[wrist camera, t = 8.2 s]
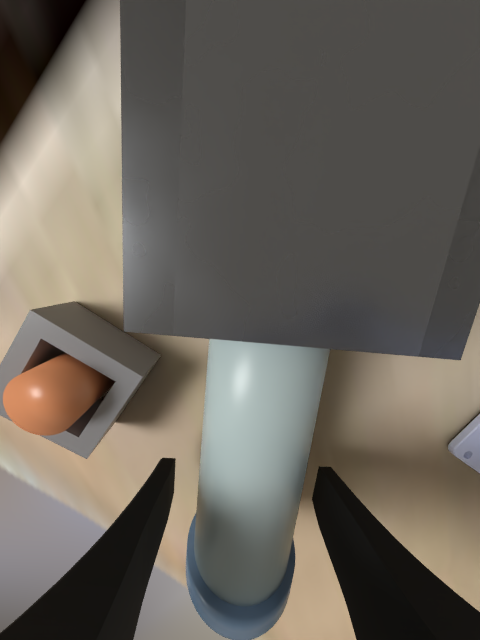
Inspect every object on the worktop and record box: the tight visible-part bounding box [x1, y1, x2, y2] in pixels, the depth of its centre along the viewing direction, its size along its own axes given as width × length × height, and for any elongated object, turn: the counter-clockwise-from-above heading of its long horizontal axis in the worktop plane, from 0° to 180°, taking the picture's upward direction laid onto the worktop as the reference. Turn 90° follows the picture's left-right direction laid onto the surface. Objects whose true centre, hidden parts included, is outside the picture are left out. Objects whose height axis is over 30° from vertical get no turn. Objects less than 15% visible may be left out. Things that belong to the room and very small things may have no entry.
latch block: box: [0, 301, 161, 459], centre depth 10 cm, size 5×5×2 cm
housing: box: [120, 0, 480, 360], centre depth 7 cm, size 9×7×6 cm
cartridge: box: [186, 339, 330, 640], centre depth 9 cm, size 15×5×5 cm, turn 174°
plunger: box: [3, 353, 116, 436], centre depth 10 cm, size 3×3×3 cm
